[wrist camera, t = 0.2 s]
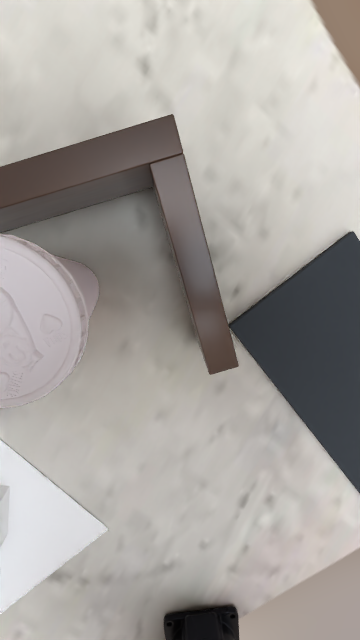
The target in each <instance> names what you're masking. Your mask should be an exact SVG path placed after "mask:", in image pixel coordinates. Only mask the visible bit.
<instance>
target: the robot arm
mask: <svg viewBox="0 0 360 640" xmlns="http://www.w3.org/2000/svg"><path fill="white" fill-rule="evenodd" d="M164 630H165V637H166V640H239V626H238V613H237V609H236V608H235V607H226V608H217V609H209V610H201V611H193V612H185V613H176V614H169V615H166V616H165V617H164Z"/></svg>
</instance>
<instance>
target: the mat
mask: <svg viewBox="0 0 360 640" xmlns="http://www.w3.org/2000/svg"><path fill="white" fill-rule="evenodd" d="M229 327H230V328H231V329H232V331H233V332H234V333H235V334H236V336H237V337H238V338H239V339H240V341H241V342H242V343H243V345H244V346H245V347H246V348H247V350H248V351H249V352H250V354H251V355H252V356H253V357H254V359H255V360H256V361H257V362H258V364H259V365H260V366H261V368H262V369H263V370H264V371H265V373H266V374H267V375H268V377H269V378H270V379H271V380H272V382H273V383H274V384H275V385H276V387H277V388H278V389H279V391H280V392H281V393H282V394H283V396H284V397H285V398H286V400H287V401H288V402H289V403H290V405H291V406H292V407H293V408H294V410H295V411H296V412H297V414H298V415H299V416H300V417H301V419H302V420H303V421H304V422H305V424H306V425H307V426H308V428H309V429H310V430H311V431H312V433H313V434H314V435H315V437H316V438H317V439H318V440H319V442H320V443H321V444H322V445H323V447H324V448H325V449H326V451H327V452H328V453H329V454H330V456H331V457H332V458H333V460H334V461H335V462H336V463H337V465H338V466H339V467H340V468H341V470H342V471H343V472H344V474H345V475H346V476H347V477H348V479H349V480H350V481H351V483H352V484H353V485H354V486H355V488H356V489H357V490H358V491H359V493H360V241H359V239H358V238H357V236H356V235H355V233H354V232H349V233H348V234H347V235H345V236H344V237H343V238H341V239H340V240H339V241H337V242H336V243H335V244H334V245H332V246H331V247H330V248H328V249H327V250H326V251H324V252H323V253H322V254H321V255H319V256H318V257H317V258H315V259H314V260H313V261H311V262H310V263H309V264H307V265H306V266H305V267H304V268H302V269H301V270H300V271H298V272H297V273H296V274H294V275H293V276H292V277H291V278H289V279H288V280H287V281H285V282H284V283H283V284H281V285H280V286H279V287H277V288H276V289H275V290H274V291H272V292H271V293H270V294H268V295H267V296H266V297H264V298H263V299H262V300H260V301H259V302H258V303H257V304H255V305H254V306H253V307H251V308H250V309H249V310H247V311H246V312H245V313H244V314H242V315H241V316H240V317H238V318H237V319H236V320H234V321H233V322H232V323H230V324H229Z"/></svg>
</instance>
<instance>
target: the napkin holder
mask: <svg viewBox="0 0 360 640" xmlns="http://www.w3.org/2000/svg"><path fill="white" fill-rule="evenodd" d="M107 530H108V528H107V527H106V526H105V525H103V524H102V523H101V522H100V521H99V520H97V519H96V518H95V517H94V516H92V515H91V514H90V513H89V512H88V511H86V510H85V509H84V508H83V507H82V506H80V505H79V504H78V503H77V502H76V501H74V500H73V499H72V498H71V497H69V496H68V495H67V494H66V493H65V492H63V491H62V490H61V489H60V488H59V487H57V486H56V485H55V484H54V483H52V482H51V481H50V480H49V479H48V478H46V477H45V476H44V475H43V474H42V473H40V472H39V471H38V470H37V469H36V468H34V467H33V466H32V465H31V464H29V463H28V462H27V461H26V460H25V459H23V458H22V457H21V456H20V455H19V454H17V453H16V452H15V451H14V450H13V449H11V448H10V447H9V446H8V445H6V444H5V443H4V442H3V441H2V440H0V614H1V613H2V612H3V611H5V610H6V609H7V608H8V607H10V606H11V605H12V604H14V603H15V602H16V601H17V600H19V599H20V598H21V597H22V596H24V595H25V594H26V593H28V592H29V591H30V590H31V589H33V588H34V587H35V586H37V585H38V584H39V583H40V582H42V581H43V580H44V579H45V578H47V577H48V576H49V575H51V574H52V573H53V572H54V571H56V570H57V569H58V568H60V567H61V566H62V565H63V564H65V563H66V562H67V561H68V560H70V559H71V558H72V557H74V556H75V555H76V554H77V553H79V552H80V551H81V550H83V549H84V548H85V547H86V546H88V545H89V544H90V543H91V542H93V541H94V540H95V539H97V538H98V537H99V536H100V535H102V534H103V533H104V532H106V531H107Z"/></svg>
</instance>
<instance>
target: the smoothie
mask: <svg viewBox="0 0 360 640" xmlns="http://www.w3.org/2000/svg"><path fill="white" fill-rule="evenodd" d="M98 298H99V284H98V280H97V278H96V276H95V275H94V273H93V272H92V271H91V270H90V269H89V268H88V267H87V266H85V265H84V264H82V263H79V262H76V261H72V260H69V259H65V258H61V257H58V256H54V255H51V254H50V253H48V252H47V251H45V250H44V249H42V248H41V247H39V246H38V245H36V244H35V243H32V242H29V241H27V240H24V239H21V238H18V237H16V236H13V235H8V234H0V408H7V407H15V406H21V405H24V404H28V403H31V402H33V401H36V400H38V399H40V398H42V397H44V396H45V395H47V394H49V393H50V392H51V391H53V390H54V389H55V388H56V387H57V386H58V385H59V384H60V383H61V382H62V381H63V380H64V379H65V378H67V377H68V376H69V375H70V374H71V373H72V371H73V370H74V368H75V367H76V365H77V364H78V363H79V361H80V360H81V358H82V355H83V352H84V349H85V346H86V343H87V340H88V321H89V319H90V317H91V315H92V312H93V310H94V308H95V305H96V303H97V301H98Z"/></svg>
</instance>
